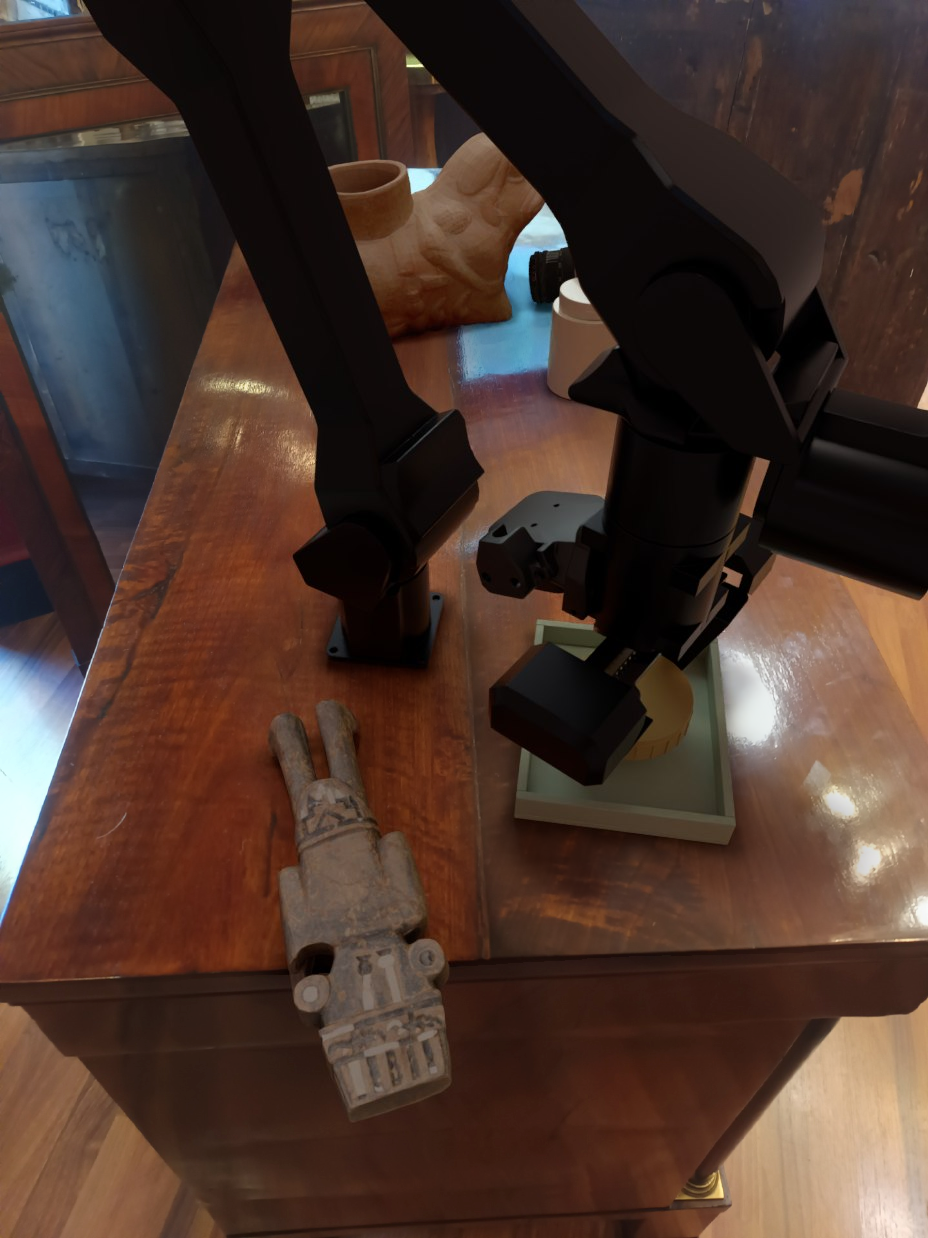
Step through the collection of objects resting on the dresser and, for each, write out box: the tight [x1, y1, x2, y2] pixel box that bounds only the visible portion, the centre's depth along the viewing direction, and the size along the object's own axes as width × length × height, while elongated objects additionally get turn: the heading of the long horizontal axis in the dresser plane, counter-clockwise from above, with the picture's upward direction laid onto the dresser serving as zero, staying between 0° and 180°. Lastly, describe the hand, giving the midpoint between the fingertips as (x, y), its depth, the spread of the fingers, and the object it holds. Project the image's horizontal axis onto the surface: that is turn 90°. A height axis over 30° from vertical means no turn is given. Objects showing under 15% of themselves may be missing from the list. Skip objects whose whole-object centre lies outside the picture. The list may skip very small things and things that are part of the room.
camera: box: [528, 246, 577, 305], centre depth 83 cm, size 15×11×10 cm
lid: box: [582, 653, 694, 761], centre depth 45 cm, size 7×7×2 cm
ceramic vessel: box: [328, 132, 546, 342], centre depth 80 cm, size 14×26×15 cm, turn 112°
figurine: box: [267, 698, 453, 1123], centre depth 39 cm, size 7×5×20 cm
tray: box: [513, 618, 737, 846], centre depth 46 cm, size 13×11×2 cm
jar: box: [546, 278, 617, 401], centre depth 72 cm, size 6×6×9 cm
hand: (621, 724), depth 47 cm, fingers closed on lid, 6 cm apart
